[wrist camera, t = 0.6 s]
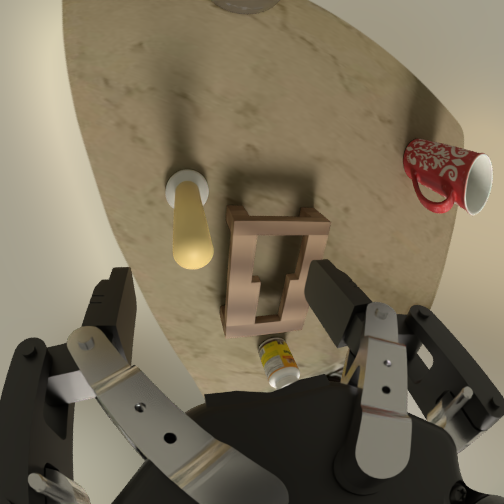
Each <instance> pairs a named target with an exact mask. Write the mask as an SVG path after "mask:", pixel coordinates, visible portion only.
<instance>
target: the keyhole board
mask: <svg viewBox="0 0 504 504" xmlns="http://www.w3.org/2000/svg"><path fill="white" fill-rule="evenodd" d="M226 222H227V224H228V227H229V229H230V231H231V234H230V247H229V260H228V274H227V288H226V304H225V306H221V307H220V317H221V322H222V326H223V330H224V334H225V338H237V337H248V336H257V335H266V334H274V333H282V332H289V331H296V330H302V328H303V325H304V321H305V318H306V315H307V312H308V308H309V304H308V303H307V301H306V299H305V295H304V288H305V283H306V279H307V275H308V270H309V266H310V263H311V261H312V260H322V258H323V254H324V250H325V246H326V242H327V238H328V234H329V230H330V226H331V222H330V221H329V220H328V219H327V218H326V217H324V216H323V215H322V214H321V213H319V212H318V211H317V210H316V209H315V208H306V207H301V209H300V214H299V217H289V216H249V215H248V213H247V211H246V210H245V208H244V207H243V206H236V205H227V212H226ZM257 235H303V237H302V242H301V247H300V252H299V256H298V261H297V266H296V270H295V274H286V278H285V283H284V288H283V292H282V297H281V302H280V306H279V311H278V314H277V315H267V316H257V317H256V311H257V304H258V298H259V291H260V285H261V282H260V279H259V277H258V276H252V273H253V265H254V257H255V250H256V242H257Z"/></svg>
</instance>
